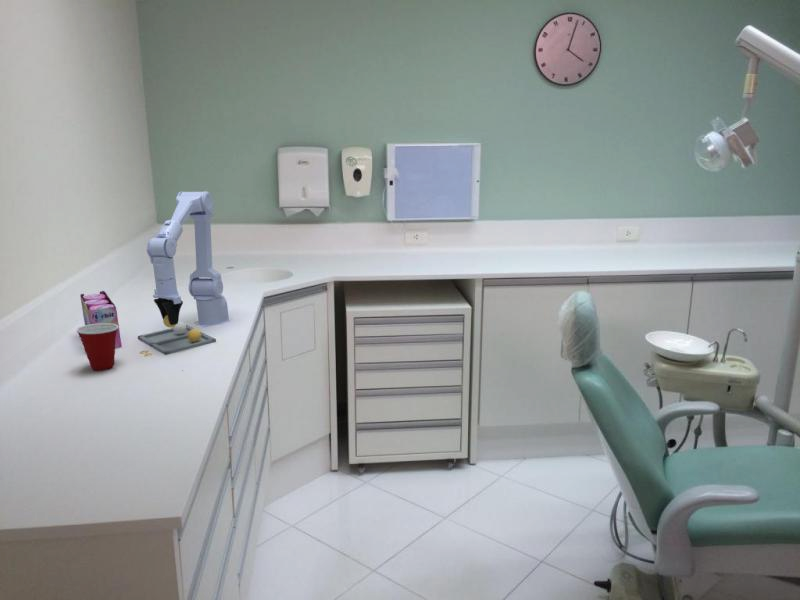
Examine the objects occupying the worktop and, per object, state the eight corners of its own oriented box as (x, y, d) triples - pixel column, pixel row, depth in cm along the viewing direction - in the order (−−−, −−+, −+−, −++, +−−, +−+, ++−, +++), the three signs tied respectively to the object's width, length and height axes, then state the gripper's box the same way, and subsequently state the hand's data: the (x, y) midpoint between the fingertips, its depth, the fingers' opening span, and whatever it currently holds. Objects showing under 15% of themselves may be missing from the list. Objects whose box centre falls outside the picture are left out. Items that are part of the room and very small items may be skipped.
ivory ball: (183, 331, 220) (182, 319, 219) (189, 334, 217) (187, 322, 216) (171, 334, 217) (170, 322, 216) (177, 337, 214) (175, 324, 213)
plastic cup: (132, 363, 194) (126, 323, 190) (99, 376, 185) (92, 334, 181) (107, 358, 199) (101, 318, 196) (74, 370, 190) (67, 329, 187)
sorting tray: (186, 328, 224) (186, 324, 224) (216, 343, 209) (215, 339, 208) (138, 340, 214) (137, 336, 214) (165, 356, 199) (164, 352, 198)
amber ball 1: (174, 324, 207) (173, 311, 206) (180, 327, 204) (178, 314, 203) (162, 327, 204) (160, 314, 203) (167, 330, 201) (165, 317, 200)
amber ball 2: (198, 338, 212) (196, 326, 211) (204, 341, 209) (202, 329, 208) (186, 341, 210) (184, 329, 208) (191, 344, 207) (190, 332, 206)
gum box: (85, 333, 223) (78, 293, 219) (110, 329, 227) (104, 289, 223) (94, 354, 203) (87, 310, 199) (123, 349, 207) (116, 305, 203)
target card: (149, 349, 205) (149, 348, 205) (160, 356, 199) (159, 354, 199) (132, 353, 202) (132, 352, 202) (143, 360, 196) (142, 358, 196)
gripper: (142, 276, 203) (148, 320, 206) (162, 284, 192) (167, 330, 196) (165, 272, 207) (170, 315, 211) (185, 280, 197) (191, 325, 200)
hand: (170, 322), depth 204 cm, fingers closed on amber ball 1, 4 cm apart
